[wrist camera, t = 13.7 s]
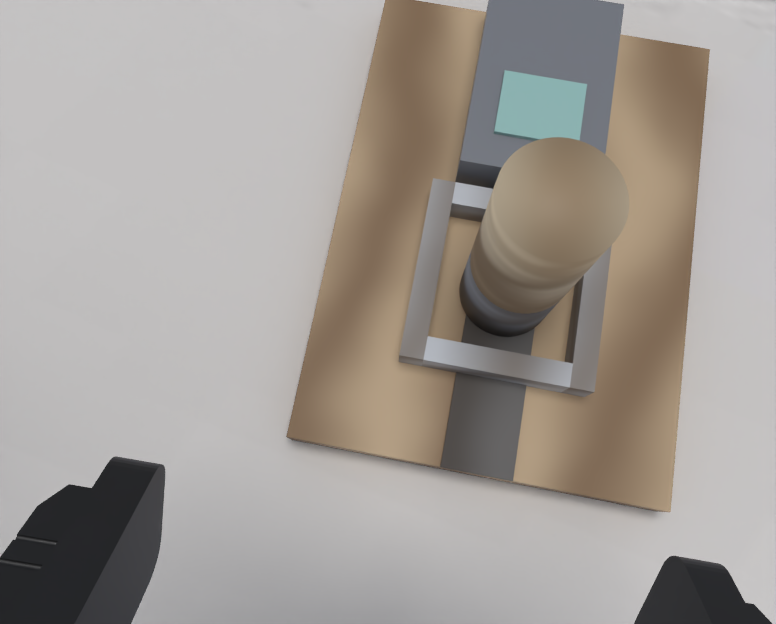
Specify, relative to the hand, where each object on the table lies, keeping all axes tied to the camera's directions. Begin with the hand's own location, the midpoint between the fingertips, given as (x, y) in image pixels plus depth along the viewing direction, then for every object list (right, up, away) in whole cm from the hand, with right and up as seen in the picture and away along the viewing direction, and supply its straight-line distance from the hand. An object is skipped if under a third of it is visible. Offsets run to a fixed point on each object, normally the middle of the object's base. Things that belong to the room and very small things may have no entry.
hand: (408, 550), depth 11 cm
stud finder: (+7, +13, +21) cm, 26 cm away
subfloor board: (+5, +7, +22) cm, 23 cm away
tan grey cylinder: (+5, +5, +19) cm, 20 cm away
